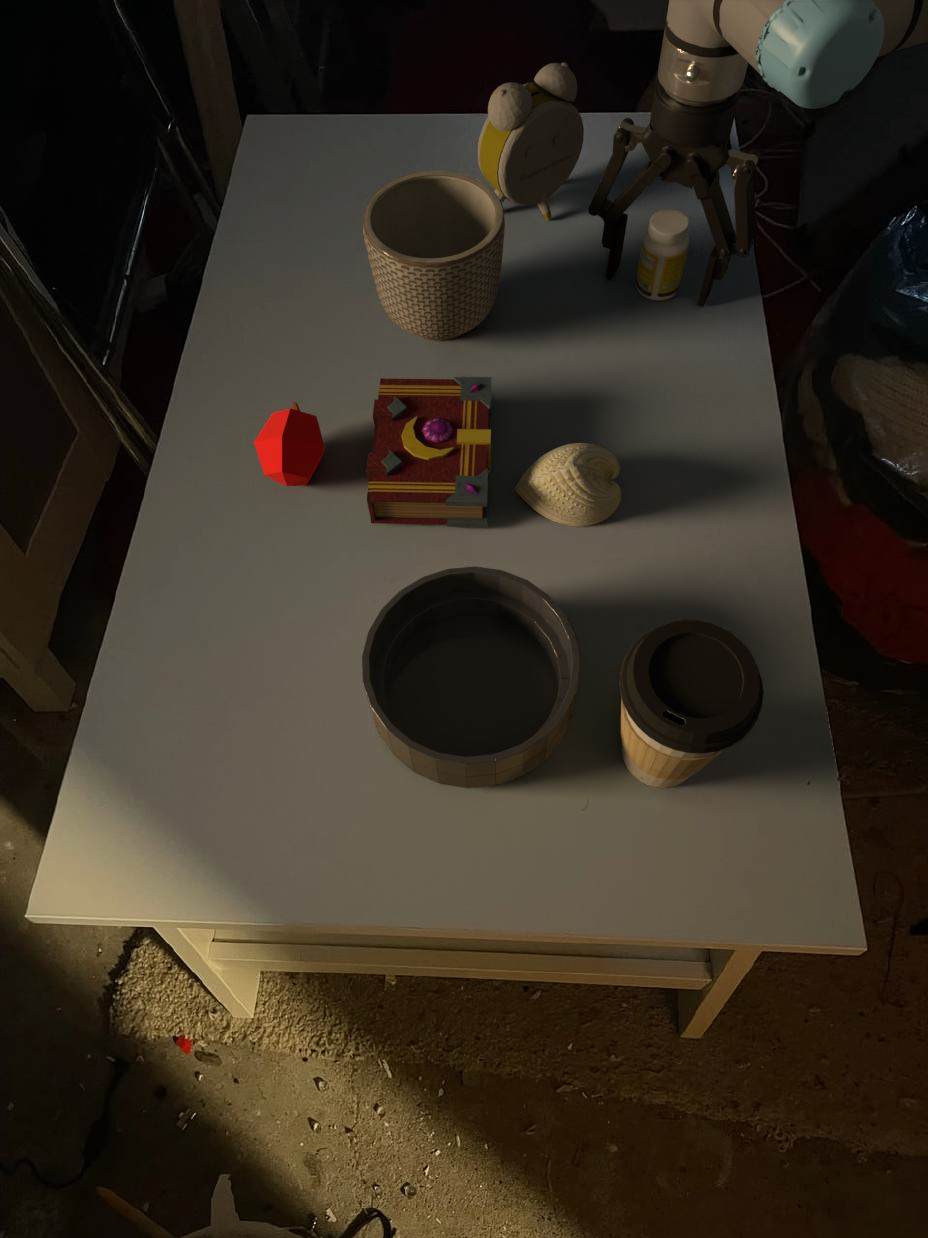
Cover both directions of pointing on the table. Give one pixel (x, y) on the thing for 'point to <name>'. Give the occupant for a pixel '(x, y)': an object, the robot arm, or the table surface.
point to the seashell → (573, 485)
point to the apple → (290, 446)
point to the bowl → (471, 676)
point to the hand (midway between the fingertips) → (657, 284)
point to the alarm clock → (532, 137)
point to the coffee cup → (685, 699)
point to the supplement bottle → (663, 255)
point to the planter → (435, 251)
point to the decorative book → (431, 452)
